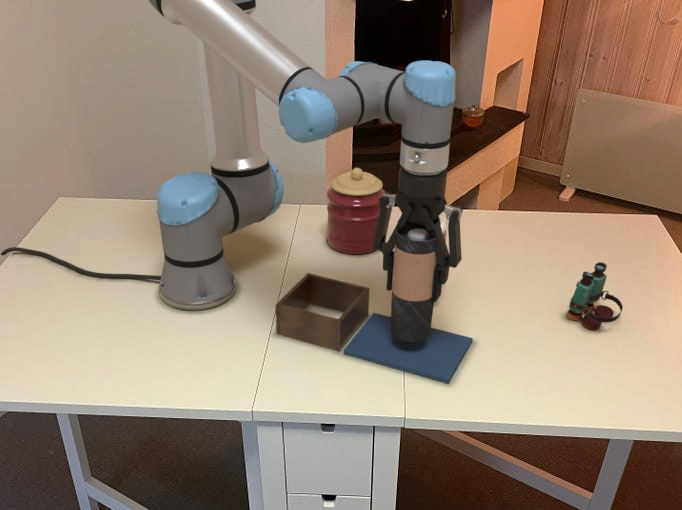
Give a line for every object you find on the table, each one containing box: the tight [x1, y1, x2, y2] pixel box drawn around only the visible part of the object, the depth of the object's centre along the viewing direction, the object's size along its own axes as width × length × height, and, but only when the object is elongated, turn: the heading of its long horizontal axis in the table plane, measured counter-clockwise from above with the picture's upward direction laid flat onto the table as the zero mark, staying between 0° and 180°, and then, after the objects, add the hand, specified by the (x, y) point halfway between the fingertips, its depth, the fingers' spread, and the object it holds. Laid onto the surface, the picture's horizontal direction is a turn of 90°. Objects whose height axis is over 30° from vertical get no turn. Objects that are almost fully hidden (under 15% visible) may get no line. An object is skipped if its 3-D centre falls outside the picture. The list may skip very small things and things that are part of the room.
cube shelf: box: [275, 272, 371, 352], centre depth 143 cm, size 13×13×6 cm
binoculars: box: [565, 261, 624, 331], centre depth 144 cm, size 9×11×10 cm
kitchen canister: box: [326, 167, 386, 255], centre depth 167 cm, size 13×13×18 cm
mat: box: [343, 312, 474, 385], centre depth 139 cm, size 20×14×1 cm
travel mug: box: [390, 222, 438, 342], centre depth 131 cm, size 8×8×20 cm
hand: (413, 292), depth 132 cm, fingers closed on travel mug, 8 cm apart
